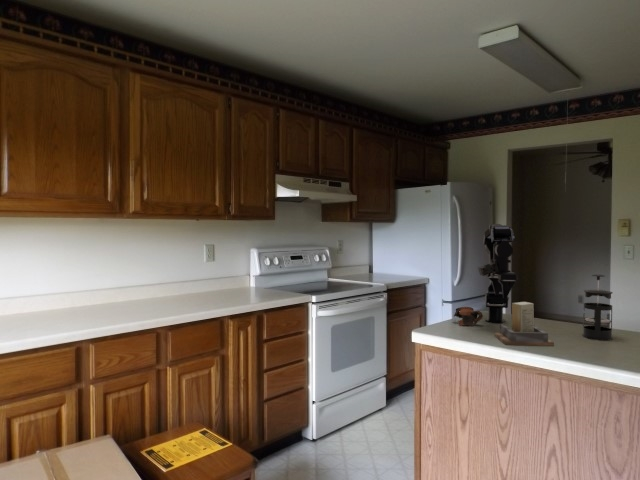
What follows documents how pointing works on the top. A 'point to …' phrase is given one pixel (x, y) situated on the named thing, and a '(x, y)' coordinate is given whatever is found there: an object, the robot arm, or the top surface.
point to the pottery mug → (468, 316)
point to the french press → (597, 315)
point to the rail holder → (523, 337)
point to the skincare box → (523, 317)
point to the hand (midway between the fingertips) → (500, 296)
